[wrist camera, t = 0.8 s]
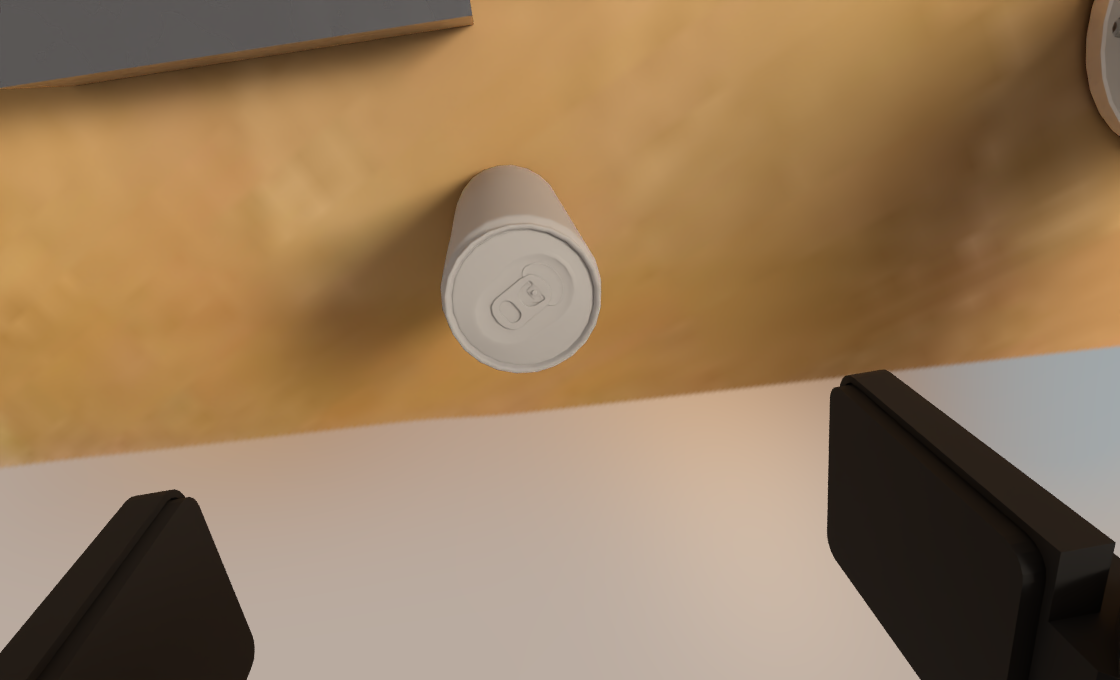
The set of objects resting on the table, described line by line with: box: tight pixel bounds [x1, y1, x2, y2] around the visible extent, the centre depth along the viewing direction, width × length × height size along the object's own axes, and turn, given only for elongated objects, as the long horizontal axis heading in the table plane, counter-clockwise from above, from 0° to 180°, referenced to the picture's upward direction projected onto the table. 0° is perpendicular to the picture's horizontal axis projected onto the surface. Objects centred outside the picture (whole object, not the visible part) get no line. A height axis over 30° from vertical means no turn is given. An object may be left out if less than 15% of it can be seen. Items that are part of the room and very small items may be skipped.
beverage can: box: [441, 165, 601, 373], centre depth 25 cm, size 5×5×12 cm
